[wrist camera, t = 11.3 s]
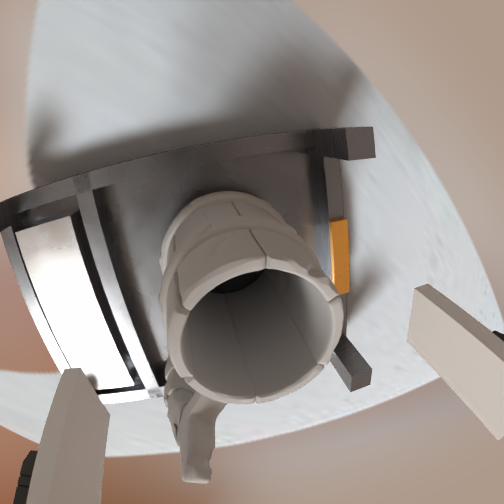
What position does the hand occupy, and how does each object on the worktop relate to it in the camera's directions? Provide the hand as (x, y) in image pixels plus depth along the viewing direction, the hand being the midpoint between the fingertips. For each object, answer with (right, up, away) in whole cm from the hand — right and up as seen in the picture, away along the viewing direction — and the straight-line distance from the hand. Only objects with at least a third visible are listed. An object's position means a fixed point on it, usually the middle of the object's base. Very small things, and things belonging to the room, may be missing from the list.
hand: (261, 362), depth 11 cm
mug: (-3, +2, +9) cm, 10 cm away
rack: (-5, +2, +9) cm, 11 cm away
